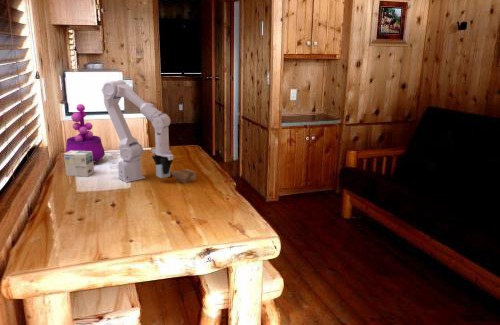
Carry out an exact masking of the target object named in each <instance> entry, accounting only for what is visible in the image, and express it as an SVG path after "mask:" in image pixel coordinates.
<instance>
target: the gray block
mask: <svg viewBox="0 0 500 325" xmlns="http://www.w3.org/2000/svg"><path fill="white" fill-rule="evenodd" d="M155 176H156V177H157V178H160V179H164V178H168V177H171V168H170V169H169V173H168V174H164V173H163V167H162V164H159V165H156V164H155Z"/></svg>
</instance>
